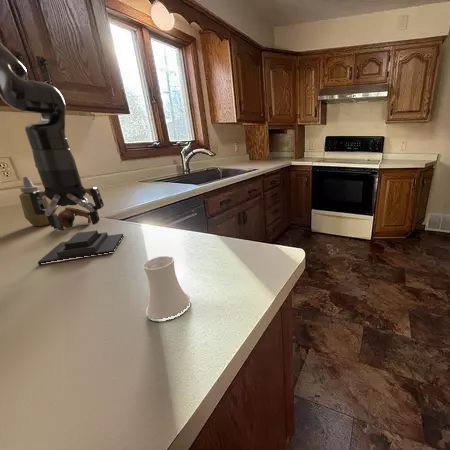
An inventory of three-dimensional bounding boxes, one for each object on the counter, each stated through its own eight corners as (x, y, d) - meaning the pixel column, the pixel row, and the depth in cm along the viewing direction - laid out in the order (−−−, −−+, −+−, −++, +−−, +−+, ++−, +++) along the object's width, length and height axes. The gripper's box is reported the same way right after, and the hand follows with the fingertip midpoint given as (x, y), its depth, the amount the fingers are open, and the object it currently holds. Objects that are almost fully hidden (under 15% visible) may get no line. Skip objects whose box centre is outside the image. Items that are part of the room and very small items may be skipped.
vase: (186, 318, 44) (176, 270, 40) (140, 325, 42) (125, 276, 39) (194, 294, 51) (186, 250, 47) (154, 299, 49) (143, 254, 46)
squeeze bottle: (27, 229, 88) (6, 179, 82) (30, 224, 94) (10, 176, 88) (57, 224, 93) (39, 176, 87) (58, 219, 99) (42, 174, 93)
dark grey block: (67, 254, 67) (64, 244, 66) (80, 241, 75) (76, 232, 74) (90, 250, 69) (87, 240, 68) (100, 239, 76) (97, 230, 75)
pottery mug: (58, 226, 92) (66, 205, 93) (89, 233, 96) (96, 213, 97) (44, 228, 81) (54, 204, 82) (80, 235, 86) (88, 213, 87)
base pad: (38, 265, 63) (35, 257, 62) (62, 245, 75) (59, 237, 74) (113, 253, 69) (110, 245, 68) (123, 236, 81) (122, 229, 80)
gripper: (95, 164, 70) (110, 218, 75) (29, 167, 64) (50, 225, 70) (86, 167, 63) (103, 226, 69) (11, 170, 58) (36, 234, 63)
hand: (76, 225), depth 69 cm, fingers open, 8 cm apart
